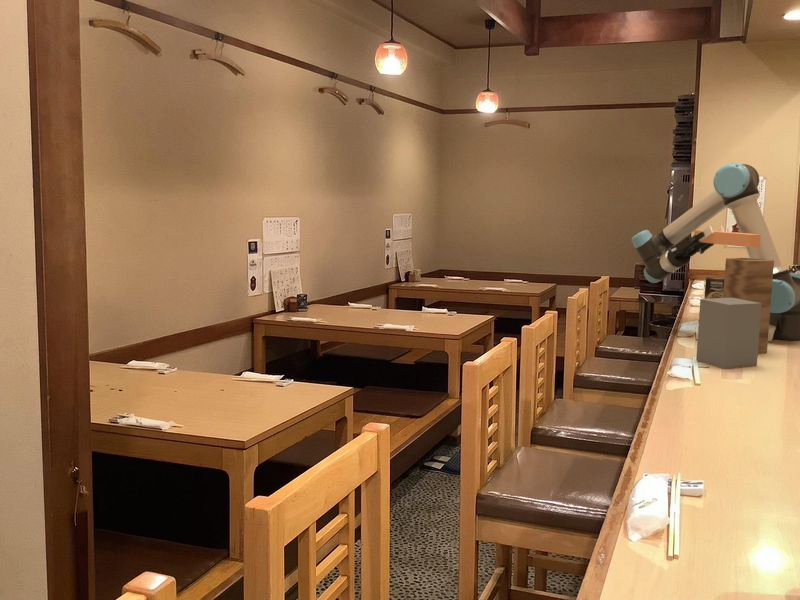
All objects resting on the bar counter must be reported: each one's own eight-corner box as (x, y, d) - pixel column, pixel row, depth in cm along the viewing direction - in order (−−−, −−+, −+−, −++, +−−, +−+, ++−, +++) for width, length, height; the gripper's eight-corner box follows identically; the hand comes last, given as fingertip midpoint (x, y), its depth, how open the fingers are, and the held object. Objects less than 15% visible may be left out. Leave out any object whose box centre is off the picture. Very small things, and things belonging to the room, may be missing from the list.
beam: (759, 247, 246) (760, 234, 245) (749, 247, 244) (750, 234, 244) (703, 241, 270) (703, 230, 269) (693, 241, 269) (694, 230, 268)
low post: (756, 366, 230) (761, 303, 227) (724, 368, 226) (728, 304, 223) (727, 357, 241) (732, 297, 239) (696, 360, 237) (700, 299, 235)
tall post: (766, 353, 249) (774, 260, 244) (741, 355, 245) (748, 261, 241) (743, 347, 258) (750, 257, 254) (719, 348, 255) (725, 258, 250)
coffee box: (702, 316, 320) (705, 278, 317) (704, 314, 325) (706, 276, 323) (726, 318, 315) (729, 279, 313) (727, 316, 321) (730, 278, 319)
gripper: (697, 267, 283) (740, 239, 262) (658, 268, 277) (699, 239, 257) (691, 248, 285) (734, 219, 265) (653, 249, 280) (693, 219, 259)
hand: (717, 229), depth 261 cm, fingers closed on beam, 4 cm apart
